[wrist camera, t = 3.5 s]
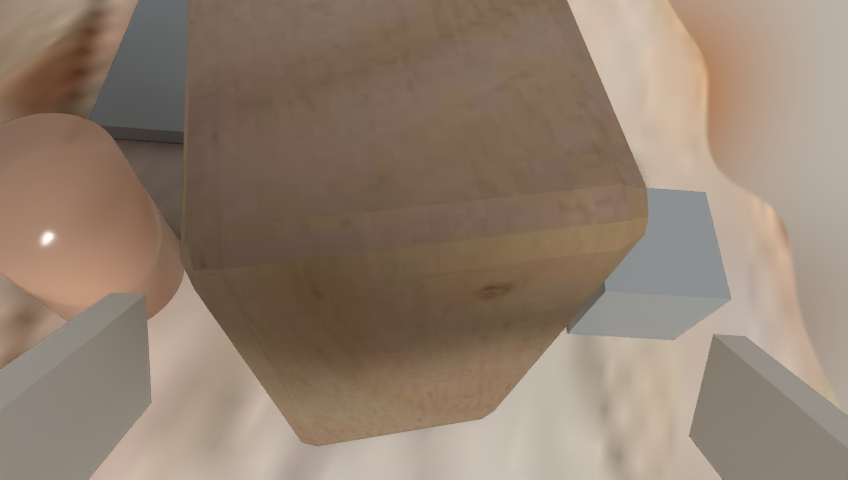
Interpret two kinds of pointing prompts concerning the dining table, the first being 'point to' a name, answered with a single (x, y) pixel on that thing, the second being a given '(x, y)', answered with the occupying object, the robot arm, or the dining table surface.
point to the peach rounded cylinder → (79, 218)
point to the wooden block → (398, 199)
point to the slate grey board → (148, 76)
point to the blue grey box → (661, 275)
